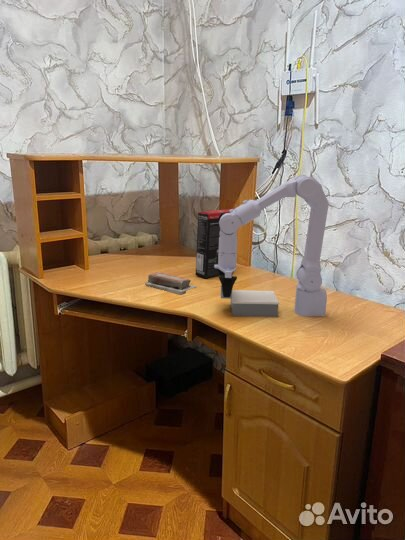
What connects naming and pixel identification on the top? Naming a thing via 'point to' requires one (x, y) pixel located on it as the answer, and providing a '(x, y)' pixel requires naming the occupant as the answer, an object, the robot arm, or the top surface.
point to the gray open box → (254, 310)
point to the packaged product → (169, 283)
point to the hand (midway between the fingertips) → (226, 293)
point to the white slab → (252, 297)
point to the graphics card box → (208, 242)
